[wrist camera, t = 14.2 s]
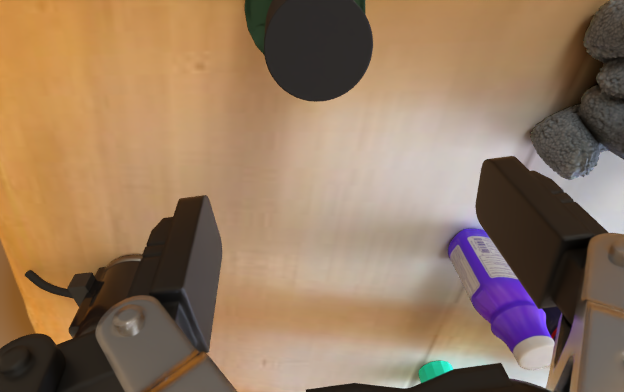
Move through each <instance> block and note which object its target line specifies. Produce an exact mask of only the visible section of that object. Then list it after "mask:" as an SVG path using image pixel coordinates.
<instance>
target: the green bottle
mask: <svg viewBox="0 0 624 392" xmlns="http://www.w3.org/2000/svg"><path fill="white" fill-rule="evenodd" d="M354 1H355V2H356V4H357V5H358V6H359V7H360V8H361V9H362V11H363V12H364V14H365V0H354ZM271 2H272V0H245V15H246V21H247V27H248V30H249V32H250V34H251V36H252V38H253V40H254V42H255V44H256V46H257V47H258V49H259V50H260V51H261V52H262V53H263V54H264V36H265V24H266V17H267V12H268V9H269V7H270V4H271Z"/></svg>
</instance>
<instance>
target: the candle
mask: <svg viewBox="0 0 624 392" xmlns="http://www.w3.org/2000/svg"><path fill="white" fill-rule="evenodd" d="M451 370H453V368H452V366H451V365H450V364H449V363H448V362H445V361H434V362H430V363H428V364H426V365H424V366H423V367H422V368H421V369H420V370H419V378H420V381H421V383H423V382H425V381H428V380H430V379H432V378H435V377H437V376H439V375H442V374H444V373H446V372H449V371H451Z"/></svg>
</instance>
